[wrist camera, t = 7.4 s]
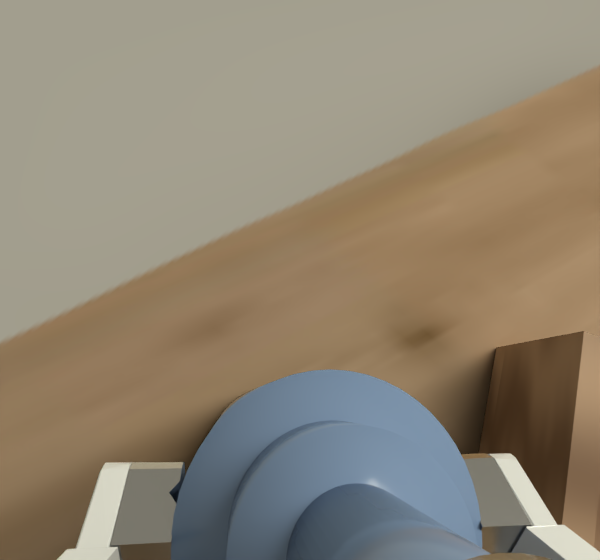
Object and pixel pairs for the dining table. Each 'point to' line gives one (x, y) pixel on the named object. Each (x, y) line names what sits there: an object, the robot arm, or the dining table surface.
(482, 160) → the dining table surface
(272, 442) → the bottle
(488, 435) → the holder
